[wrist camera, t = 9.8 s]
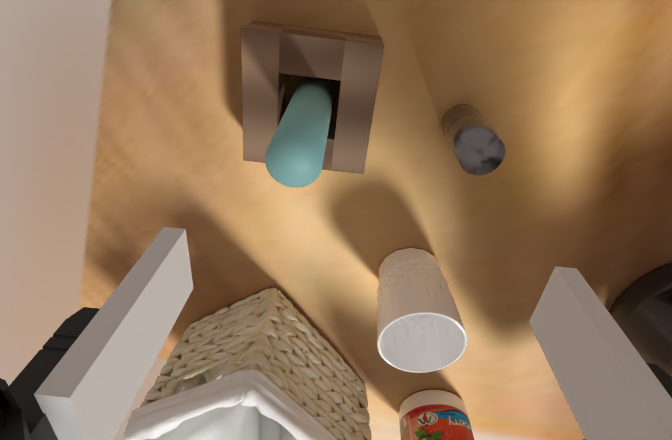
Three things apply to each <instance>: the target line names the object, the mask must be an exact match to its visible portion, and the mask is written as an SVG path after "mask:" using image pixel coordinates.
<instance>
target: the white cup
mask: <svg viewBox="0 0 672 440" xmlns="http://www.w3.org/2000/svg"><path fill="white" fill-rule="evenodd" d="M377 293H378V294H377V348H378V351H379V354H380V355H381V357H382V358H383V359H384V360H385V361H386V362H387V363H388V364H390V365H391V366H393V367H395V368H397V369H400V370H403V371H407V372H415V373H423V372H431V371H436V370H439V369H442V368H445V367H447V366H449V365H451V364H452V363H454V362H455V361H456V360H458V359H459V358H460V357H461V355H462V354H463V353H464V351H465V349H466V346H467V334H466V332H465V329H464V326H463V323H462V321H461V318H460V315H459V312H458V309H457V307H456V304H455V301H454V298H453V296H452V294H451V291H450V288H449V286H448V283H447V281H446V278H445V277H444V275H443V273H442V270H441V267H440V265H439V263H438V261H437V259H436V257H434V256H433V255H431V254H430V253H428V252H427V251H425V250H421V249H415V248H407V249H402V250H397V251H395V252H393V253H392V254H390V255H389V256H387V257H386V258H385V259H384V261H383V262H382V264H381V265H380V267H379V286H378V289H377Z"/></svg>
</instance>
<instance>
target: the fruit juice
mask: <svg viewBox="0 0 672 440" xmlns="http://www.w3.org/2000/svg"><path fill="white" fill-rule="evenodd" d="M399 422H400V433H401V440H474V437H473V433H472V429H471V425H470V421H469V417H468V413H467V410H466V407H465V405H464V403H463V402H462V400H461V399H460V398H459V397H458V396H456V395H455V394H453V393H450V392H447V391H443V390H424V391H420V392H417V393H414V394H412V395H410V396H409V397H407V398H406V399H405V400H404V401H403V402H402V404H401V406H400V410H399Z"/></svg>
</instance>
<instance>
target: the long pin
mask: <svg viewBox="0 0 672 440" xmlns="http://www.w3.org/2000/svg"><path fill="white" fill-rule="evenodd" d="M333 99H334V89H333V86H332V84H331V82H330V81H329V80H328V79H324V78H316V77H308V76H305V77H304V78H303V79H301V81H300V82H299V84H298V86H297V88H296V90H295V92H294V94H293V96H292V98H291V100H290V102H289V104H288V107H287V109H286V111H285V113H284V115H283V117H282V119H281V121H280V123H279V125H278V127H277V129H276V132H275V134H274V136H273V138H272V140H271V142H270V144H269V146H268V148H267V151H266V154H265V163H266V167H267V170H268V172H269V173H270V175H271V176H272V177H273V178H274V179H275V180H276V181H278V182H279V183H281V184H283V185H285V186H288V187H303V186H307V185H309V184H311V183H312V182H314V181H315V180H316V179H317V178H318V176H319V175H320V173H321V170H322V166H323V160H324V154H325V148H326V142H327V136H328V129H329V123H330V117H331V111H332V105H333Z"/></svg>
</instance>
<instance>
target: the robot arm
mask: <svg viewBox="0 0 672 440" xmlns="http://www.w3.org/2000/svg"><path fill="white" fill-rule="evenodd" d="M192 290H193V281H192V274H191V266H190V259H189V251H188V244H187V236H186V229H180V228H170V227H163V229H162V230H161V231H160V233H159V234H158V235H157V236H156V238H155V239H154V240H153V242H152V243H151V244H150V245H149V247H148V248H147V249H146V251H145V252H144V253H143V255H142V256H141V257H140V258H139V260H138V261H137V262H136V264H135V265H134V266H133V267H132V269H131V270H130V271H129V273H128V274H127V275H126V276H125V278H124V279H123V280H122V282H121V283H120V284H119V285H118V287H117V288H116V289H115V291H114V292H113V293H112V294H111V296H110V297H109V298H108V300H107V301H106V302H105V303H104V305H103V306H102V307H101V309H97V308H87V307H84V308H82V309H81V310H79V311H78V312H76V313H75V314H73V315H72V316H70V317H69V318H68V319H66V320H65V321H64V322H63V324H62V325H61V326H60V327H59V328H58V329H57V331H56V332H55V333H54V334H53V337H51V338H50V339H49V340H48V341H47V342H46V343H45V345H44V346H43V349H42V350H39V352H38V353H37V354H36V355H35V356H34V358H33V359H32V360H31V361H30V362H29V363H28V365H27V366H26V367H25V368H24V369H23V370H22V372H21V373H20V374H19V375H18V376H17V378H16V379H15V380H14V381H13V382H12V384H11V385H10V386H8V384H7V383H6V381H5V380H3V379H1V378H0V440H113V438H114V436H115V435H116V433H117V431H118V429H119V427H120V425H121V423H122V421H123V419H124V418H125V416H126V414H127V412H128V410H129V408H130V406H131V404H132V403H133V401H134V399H135V397H136V395H137V393H138V391H139V389H140V388H141V386H142V384H143V382H144V380H145V378H146V376H147V374H148V373H149V371H150V369H151V367H152V365H153V363H154V361H155V359H156V358H157V356H158V354H159V352H160V350H161V348H162V346H163V344H164V343H165V341H166V339H167V337H168V335H169V333H170V331H171V329H172V328H173V326H174V324H175V322H176V320H177V318H178V316H179V314H180V312H181V311H182V309H183V307H184V305H185V303H186V301H187V299H188V297H189V296H190V294H191V292H192ZM529 323H530V325H531V327H532V329H533V331H534V334H535V336H536V338H537V340H538V342H539V344H540V346H541V348H542V350H543V352H544V354H545V356H546V358H547V361H548V363H549V365H550V367H551V369H552V371H553V373H554V375H555V377H556V379H557V381H558V383H559V386H560V388H561V390H562V392H563V394H564V396H565V398H566V400H567V402H568V404H569V406H570V408H571V410H572V413H573V415H574V417H575V419H576V421H577V423H578V425H579V427H580V429H581V431H582V433H583V435H584V437H585V439H583V440H672V264H670V265H667V266H664V267H662V268H660V269H657V270H655V271H653V272H651V273H649V274H648V275H646V276H644V277H643V278H641V279H640V280H638V281H637V282H635V283H634V284H633V285H631V286H630V287H629V288H628V289H627V290H626V291H625V292H624V293H623V294H622V295H621V296H620V297H619V298H618V300H617V301H616V303H615V304H614V306H613V308H612V310H611V312H610V313H609V312H608V310H607V309H606V308H605V306H604V305H603V304H602V302H601V301H600V299H599V298H598V297H597V295H596V294H595V293H594V291H593V290H592V289H591V287H590V286H589V284H588V283H587V282H586V280H585V279H584V278H583V276H582V275H581V273H580V272H579V271H578V269H577V268H567V267H558V266H555V268H554V270H553V272H552V274H551V276H550V278H549V281H548V283H547V285H546V287H545V289H544V291H543V293H542V295H541V297H540V300H539V302H538V304H537V306H536V308H535V310H534V312H533V314H532V317H531V319H530V321H529Z"/></svg>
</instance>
